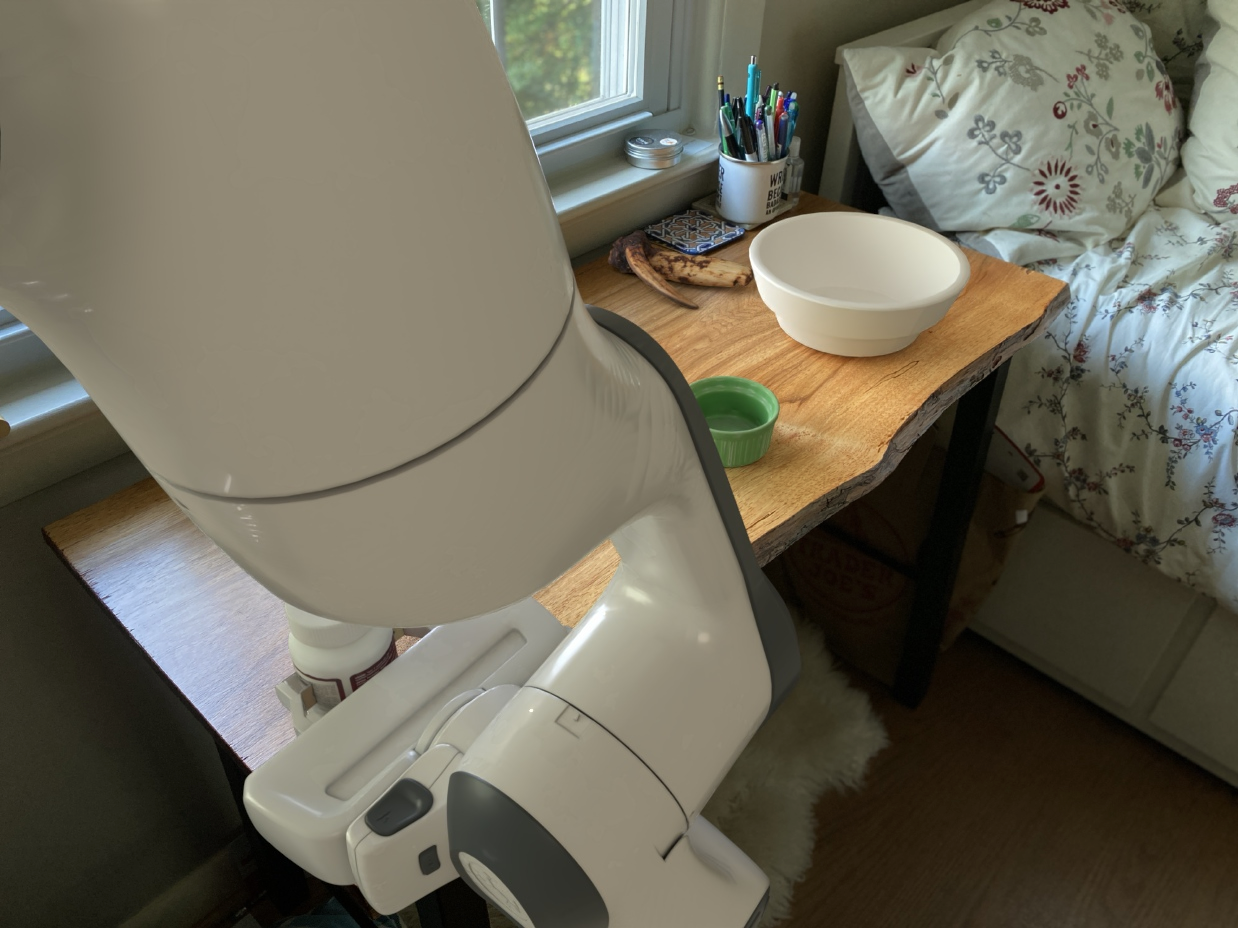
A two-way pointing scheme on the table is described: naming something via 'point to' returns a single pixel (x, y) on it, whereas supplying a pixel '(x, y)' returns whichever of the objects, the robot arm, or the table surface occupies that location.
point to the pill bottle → (336, 655)
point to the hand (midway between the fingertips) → (336, 648)
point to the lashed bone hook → (674, 267)
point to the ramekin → (737, 416)
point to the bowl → (856, 280)
